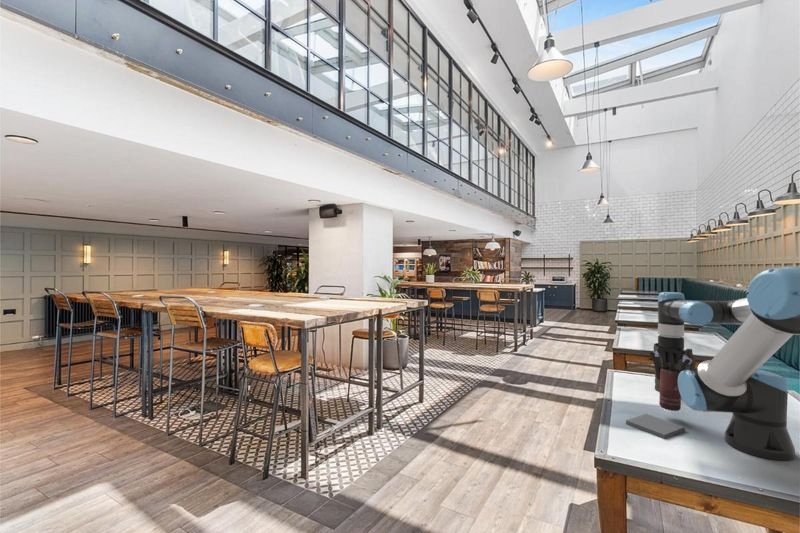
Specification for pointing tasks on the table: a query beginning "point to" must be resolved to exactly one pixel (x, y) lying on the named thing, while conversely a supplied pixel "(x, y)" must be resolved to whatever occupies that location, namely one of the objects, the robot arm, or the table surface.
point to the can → (669, 390)
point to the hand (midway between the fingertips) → (670, 402)
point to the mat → (655, 425)
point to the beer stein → (691, 367)
